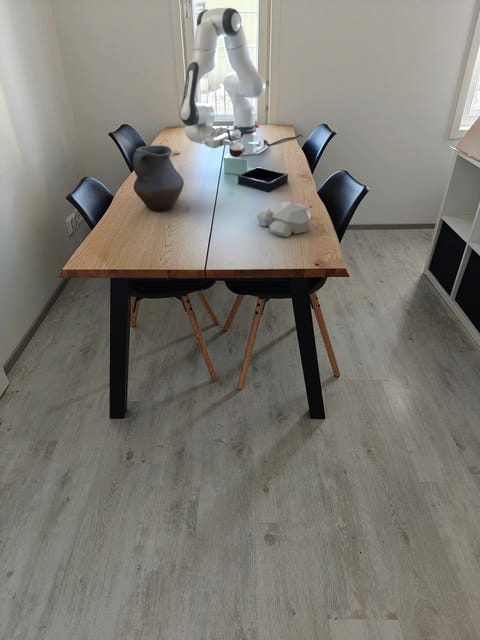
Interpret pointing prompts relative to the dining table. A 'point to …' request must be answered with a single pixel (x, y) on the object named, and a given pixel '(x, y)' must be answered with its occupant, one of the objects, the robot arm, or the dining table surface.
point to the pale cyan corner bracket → (235, 165)
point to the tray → (262, 179)
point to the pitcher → (156, 177)
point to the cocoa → (235, 147)
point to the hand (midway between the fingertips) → (236, 141)
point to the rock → (285, 219)
